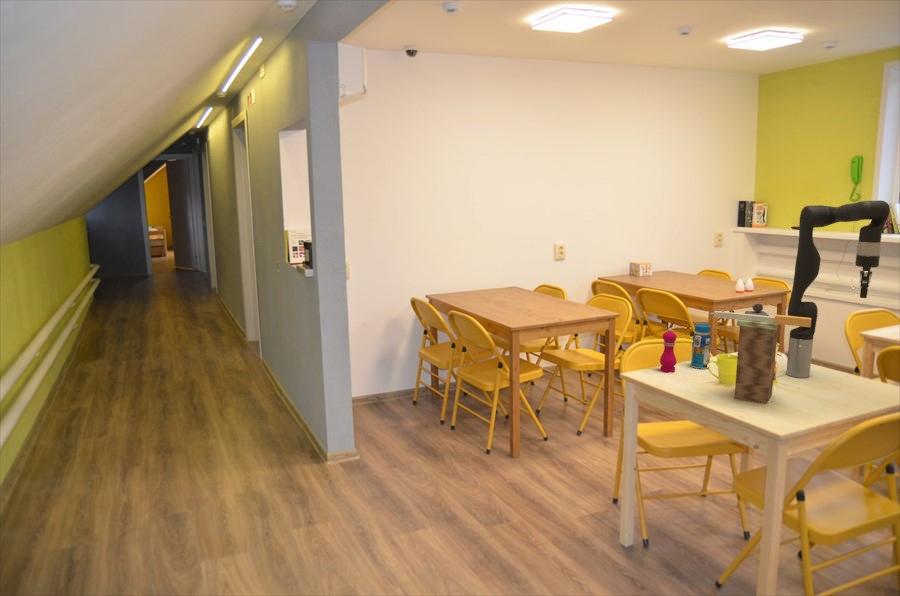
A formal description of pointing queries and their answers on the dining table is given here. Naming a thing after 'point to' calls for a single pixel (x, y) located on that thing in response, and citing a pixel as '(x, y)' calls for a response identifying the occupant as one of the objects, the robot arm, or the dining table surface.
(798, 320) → the knife
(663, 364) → the pepper mill
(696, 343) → the blue snack canister
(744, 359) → the brown zigzag canister
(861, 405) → the dining table surface
